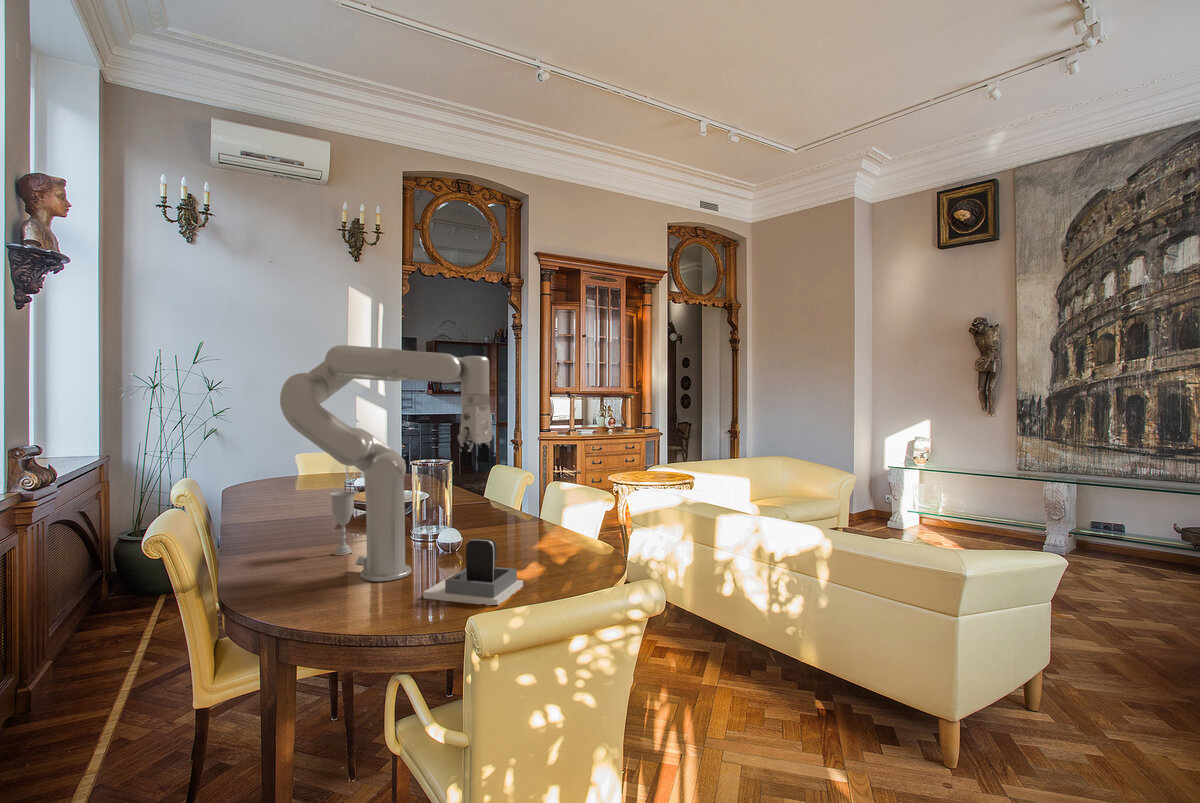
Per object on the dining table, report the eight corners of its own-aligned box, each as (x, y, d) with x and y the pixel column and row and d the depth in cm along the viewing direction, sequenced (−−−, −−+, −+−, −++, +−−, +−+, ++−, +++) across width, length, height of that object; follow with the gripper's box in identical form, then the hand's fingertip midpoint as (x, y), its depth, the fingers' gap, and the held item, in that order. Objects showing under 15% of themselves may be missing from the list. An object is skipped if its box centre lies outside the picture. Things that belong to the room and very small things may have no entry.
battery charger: (498, 584, 144) (498, 537, 144) (492, 589, 140) (492, 541, 140) (472, 582, 145) (471, 536, 145) (465, 587, 142) (464, 540, 142)
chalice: (361, 552, 178) (360, 492, 178) (340, 558, 173) (339, 496, 172) (346, 549, 182) (345, 490, 182) (325, 554, 177) (324, 493, 176)
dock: (423, 598, 139) (423, 579, 139) (454, 579, 153) (454, 562, 152) (497, 606, 134) (497, 586, 134) (522, 586, 147) (522, 568, 147)
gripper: (472, 402, 153) (472, 468, 153) (502, 400, 169) (502, 461, 170) (446, 402, 155) (446, 467, 155) (478, 400, 171) (478, 460, 172)
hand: (475, 464), depth 162 cm, fingers open, 9 cm apart
